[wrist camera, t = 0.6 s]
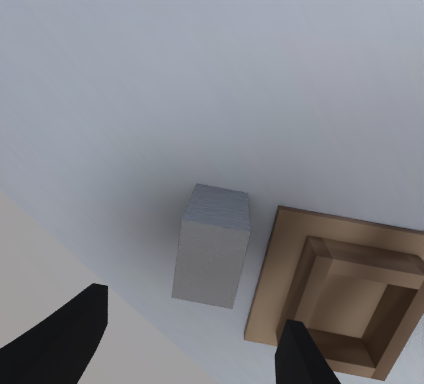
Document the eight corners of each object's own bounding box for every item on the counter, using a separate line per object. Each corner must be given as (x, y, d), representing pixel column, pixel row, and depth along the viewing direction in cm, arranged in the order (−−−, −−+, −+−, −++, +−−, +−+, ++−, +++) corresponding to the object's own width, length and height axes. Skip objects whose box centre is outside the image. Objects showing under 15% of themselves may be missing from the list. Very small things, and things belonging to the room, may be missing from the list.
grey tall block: (247, 192, 19) (250, 232, 14) (233, 253, 21) (232, 309, 16) (196, 183, 19) (181, 219, 14) (187, 245, 21) (171, 297, 16)
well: (455, 237, 19) (495, 265, 16) (386, 361, 23) (407, 400, 20) (278, 205, 19) (285, 227, 16) (243, 333, 24) (244, 368, 21)
